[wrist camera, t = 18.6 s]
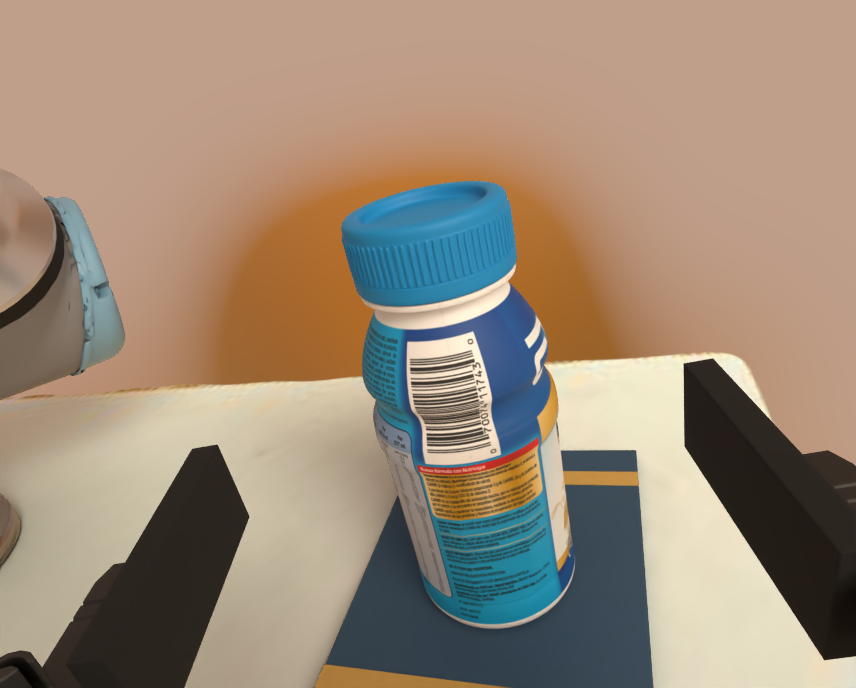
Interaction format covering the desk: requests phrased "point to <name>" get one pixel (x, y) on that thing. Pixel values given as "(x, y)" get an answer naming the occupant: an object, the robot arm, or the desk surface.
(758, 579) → the desk surface
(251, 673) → the desk surface
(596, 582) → the tea towel
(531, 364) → the beverage bottle
